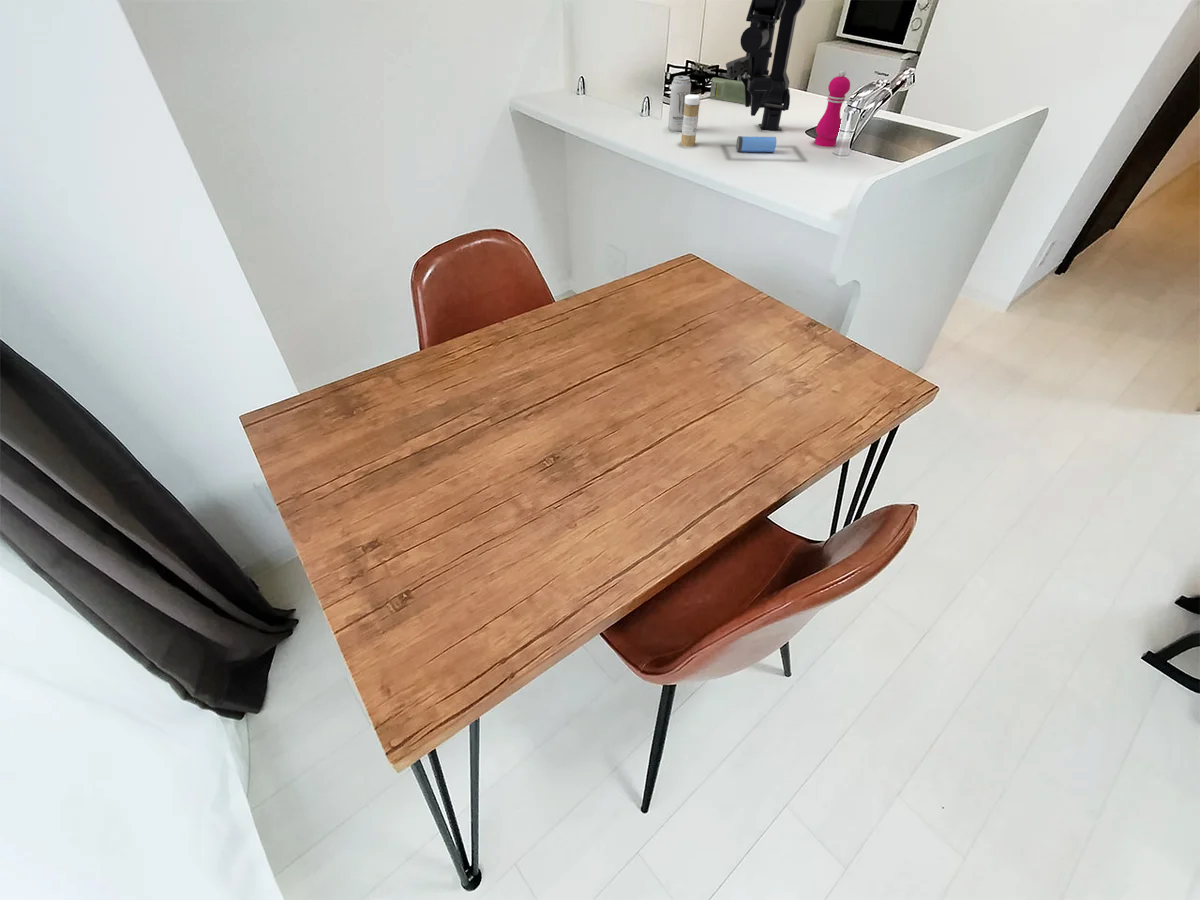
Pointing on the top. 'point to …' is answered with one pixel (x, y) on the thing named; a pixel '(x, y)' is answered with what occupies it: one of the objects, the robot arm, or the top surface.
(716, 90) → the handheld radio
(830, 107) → the pepper mill
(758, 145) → the tube
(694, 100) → the sprinkles bottle
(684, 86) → the energy drink can
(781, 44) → the robot arm
